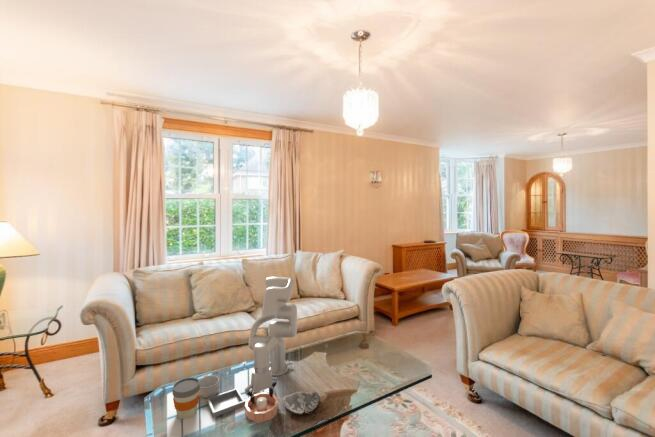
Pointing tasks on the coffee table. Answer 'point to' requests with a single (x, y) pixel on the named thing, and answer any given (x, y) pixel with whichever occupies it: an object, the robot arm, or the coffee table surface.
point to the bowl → (266, 415)
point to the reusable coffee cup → (186, 397)
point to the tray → (225, 402)
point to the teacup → (209, 386)
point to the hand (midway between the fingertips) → (262, 399)
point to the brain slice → (301, 402)
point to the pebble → (261, 404)
